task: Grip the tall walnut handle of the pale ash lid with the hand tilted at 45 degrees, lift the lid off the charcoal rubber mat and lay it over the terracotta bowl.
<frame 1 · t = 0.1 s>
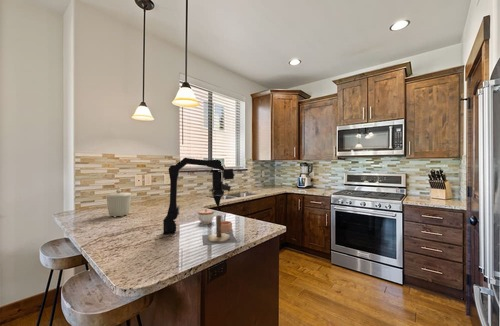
hand: (217, 204, 136), 15 cm above the countertop, tool pointing down, fingers open, 9 cm apart
canister: (119, 216, 174), on the countertop
lid: (218, 238, 117), resting on mat
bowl: (224, 230, 132), on the countertop
lidded jar: (206, 223, 150), on the countertop
mat: (218, 239, 117), on the countertop
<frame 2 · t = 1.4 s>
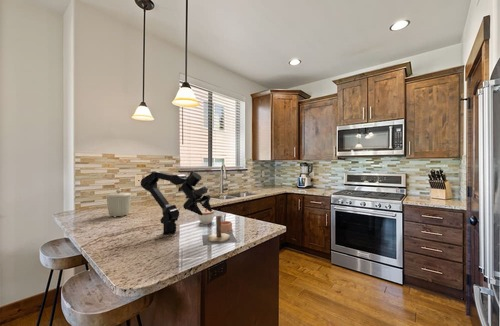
hand: (206, 213, 120), 13 cm above the countertop, tool tilted 45°, fingers open, 9 cm apart
nothing on the countertop moved.
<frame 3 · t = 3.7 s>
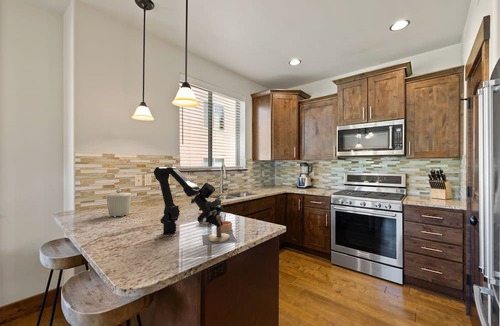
hand: (221, 225, 116), 7 cm above the countertop, tool tilted 45°, fingers closed on lid, 3 cm apart
lid: (218, 238, 117), resting on mat, touching gripper
everything else where it was.
when the fingers open (12 cm above the countertop, at t = 6.9 s): lid drops 1 cm, resting on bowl.
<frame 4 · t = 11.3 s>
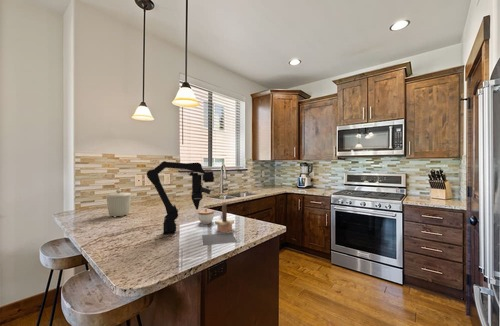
hand: (197, 208, 135), 13 cm above the countertop, tool pointing down, fingers open, 9 cm apart
lid: (224, 222, 132), point 4 cm above the countertop, touching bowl
everything else where it was.
at the end: lid 0.0 cm from the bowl (horizontally); lid point 4.5 cm above the countertop; lid tilted 0° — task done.
